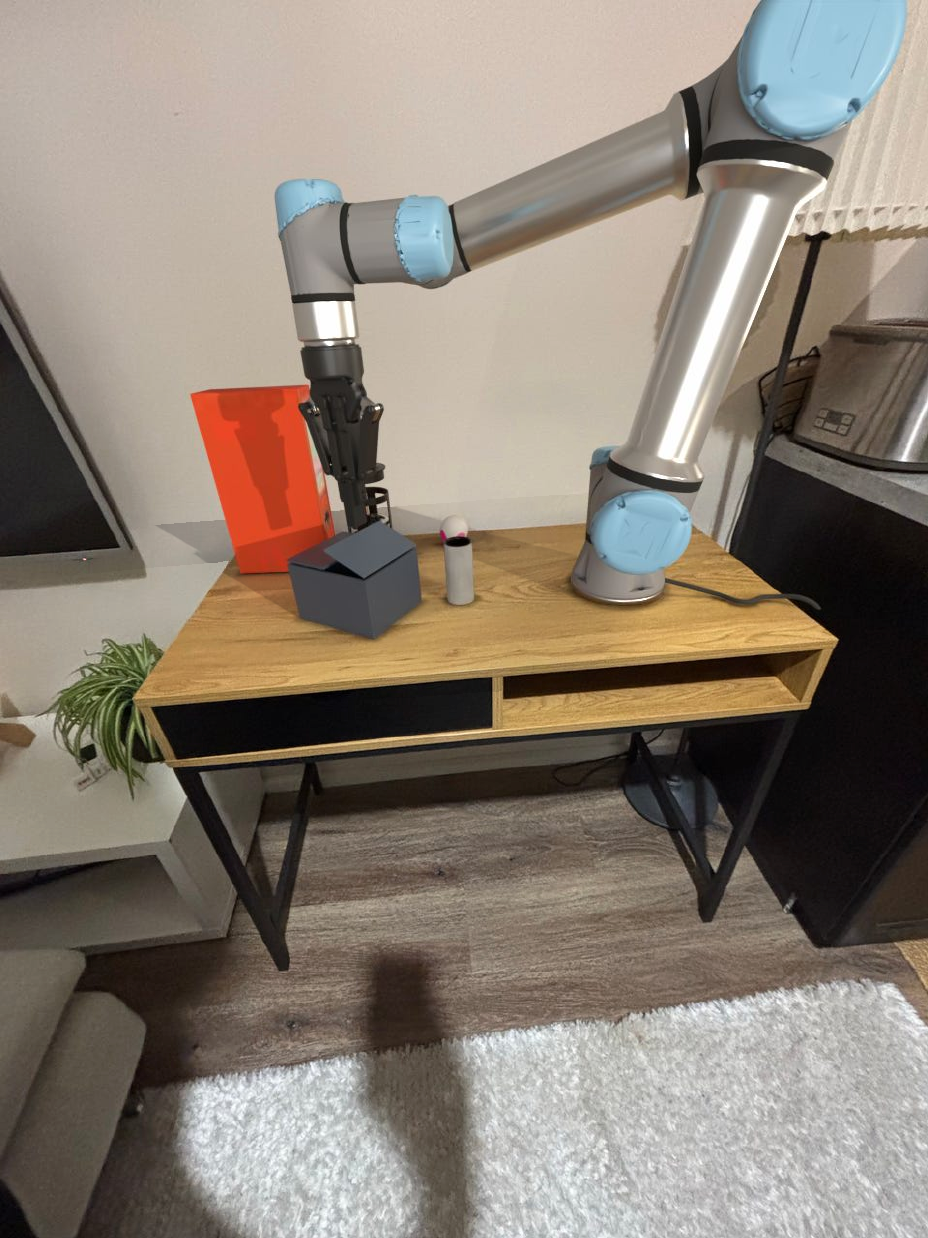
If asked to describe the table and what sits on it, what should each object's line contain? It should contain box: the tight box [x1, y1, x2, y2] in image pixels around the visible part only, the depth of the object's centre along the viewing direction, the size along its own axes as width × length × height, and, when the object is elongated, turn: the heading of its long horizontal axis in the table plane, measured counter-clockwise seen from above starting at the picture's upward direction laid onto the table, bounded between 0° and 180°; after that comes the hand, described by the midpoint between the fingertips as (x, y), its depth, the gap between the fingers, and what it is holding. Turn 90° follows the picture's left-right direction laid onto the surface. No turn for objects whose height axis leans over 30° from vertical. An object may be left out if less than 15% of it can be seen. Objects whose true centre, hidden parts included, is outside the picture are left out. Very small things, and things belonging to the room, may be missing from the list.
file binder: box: [190, 384, 336, 574], centre depth 94 cm, size 8×17×32 cm, turn 90°
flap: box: [324, 521, 417, 578], centre depth 77 cm, size 7×13×1 cm, turn 149°
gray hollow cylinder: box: [443, 536, 475, 606], centre depth 83 cm, size 4×4×10 cm
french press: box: [342, 462, 394, 533], centre depth 100 cm, size 12×9×23 cm
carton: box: [287, 531, 423, 640], centre depth 82 cm, size 15×13×10 cm
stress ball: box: [437, 514, 469, 545], centre depth 107 cm, size 8×8×7 cm
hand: (357, 524), depth 76 cm, fingers closed
